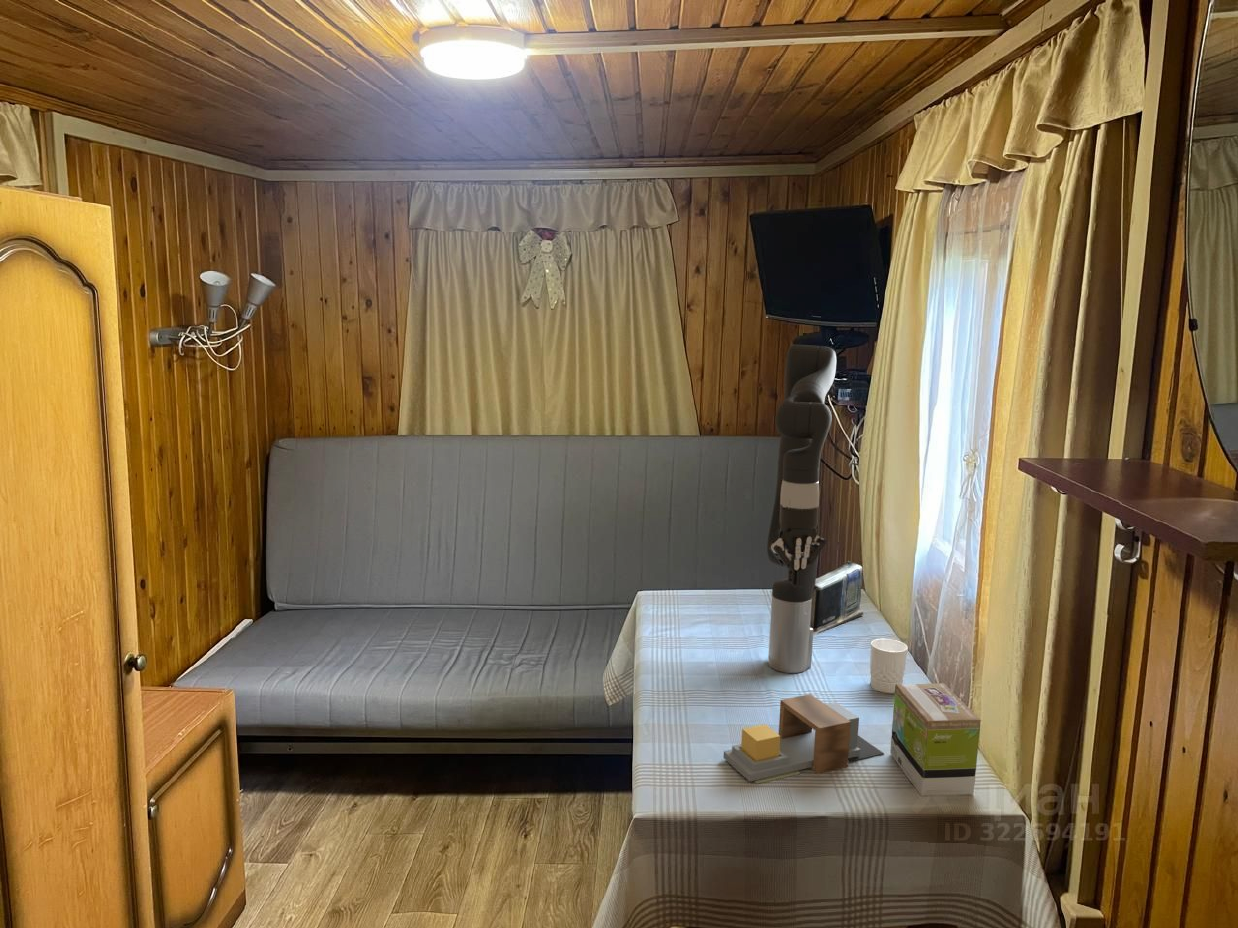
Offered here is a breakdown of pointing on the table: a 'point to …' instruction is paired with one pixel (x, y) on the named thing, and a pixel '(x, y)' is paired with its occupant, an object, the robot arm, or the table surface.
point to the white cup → (887, 664)
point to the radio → (836, 597)
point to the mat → (776, 777)
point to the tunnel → (817, 730)
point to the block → (760, 742)
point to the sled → (790, 752)
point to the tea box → (935, 739)
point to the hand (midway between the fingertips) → (795, 585)
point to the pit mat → (865, 750)
